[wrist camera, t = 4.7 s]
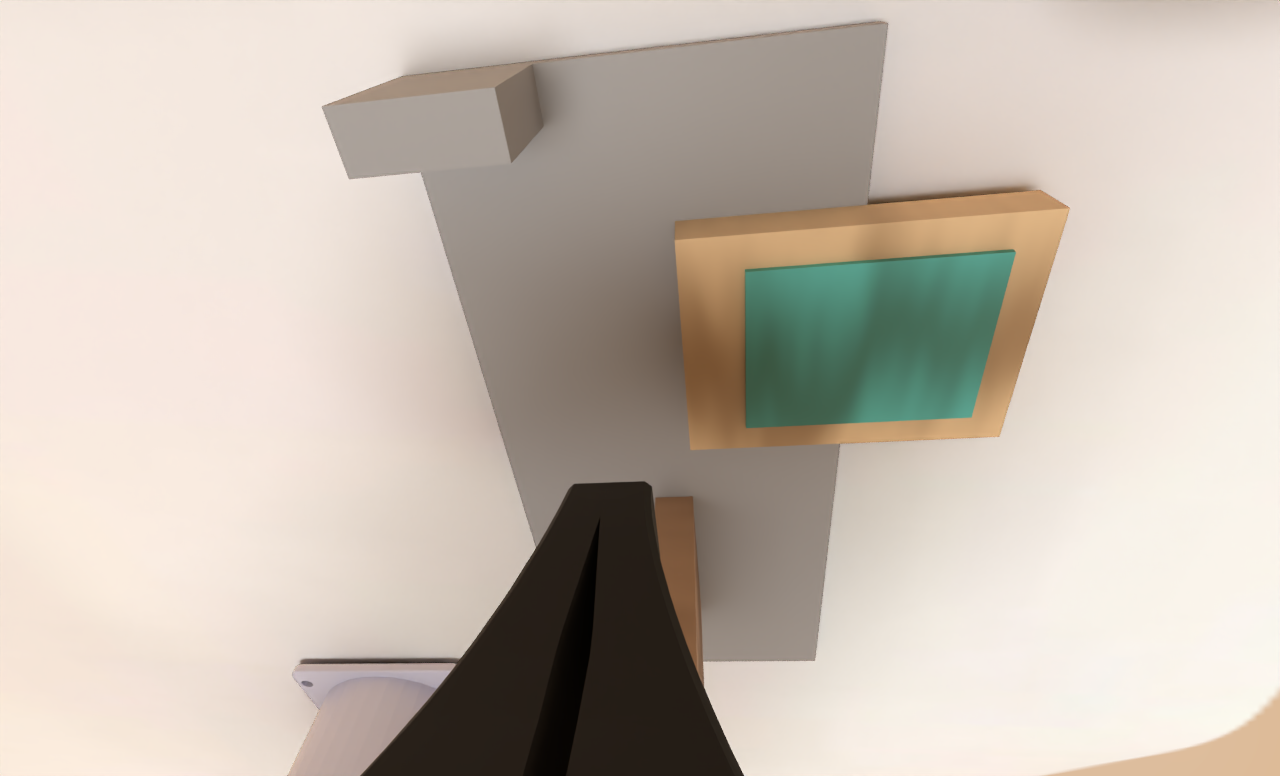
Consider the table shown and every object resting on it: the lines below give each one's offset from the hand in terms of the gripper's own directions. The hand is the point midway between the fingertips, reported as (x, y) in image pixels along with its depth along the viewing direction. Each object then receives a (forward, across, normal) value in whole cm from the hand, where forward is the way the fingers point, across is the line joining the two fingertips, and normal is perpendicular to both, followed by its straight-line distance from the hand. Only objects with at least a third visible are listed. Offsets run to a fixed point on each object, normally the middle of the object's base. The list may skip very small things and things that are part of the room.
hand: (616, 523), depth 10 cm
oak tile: (+6, -1, 0) cm, 6 cm away
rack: (+7, -1, +4) cm, 8 cm away
